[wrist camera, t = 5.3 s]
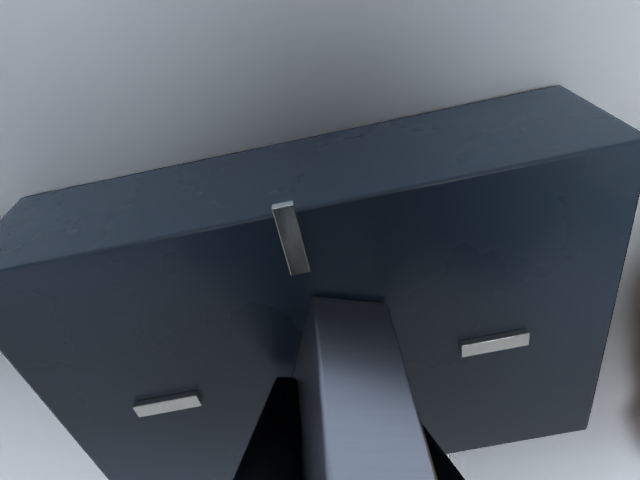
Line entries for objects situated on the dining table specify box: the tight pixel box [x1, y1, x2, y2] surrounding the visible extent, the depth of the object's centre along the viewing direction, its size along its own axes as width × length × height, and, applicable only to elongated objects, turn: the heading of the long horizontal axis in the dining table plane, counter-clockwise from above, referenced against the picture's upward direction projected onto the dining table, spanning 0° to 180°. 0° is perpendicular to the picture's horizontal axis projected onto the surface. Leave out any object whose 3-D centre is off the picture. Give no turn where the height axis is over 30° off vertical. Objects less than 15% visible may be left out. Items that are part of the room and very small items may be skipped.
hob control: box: [0, 85, 640, 480], centre depth 11 cm, size 12×8×3 cm
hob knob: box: [293, 296, 438, 480], centre depth 8 cm, size 4×2×4 cm, turn 169°
